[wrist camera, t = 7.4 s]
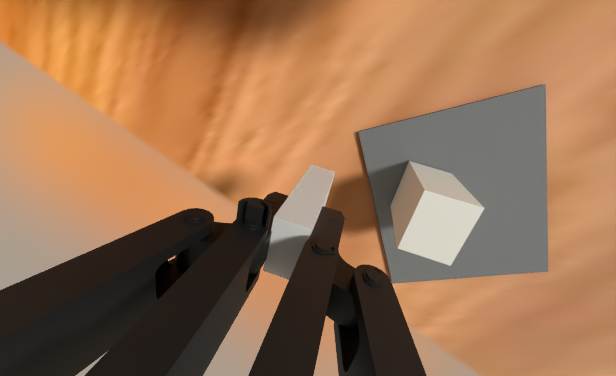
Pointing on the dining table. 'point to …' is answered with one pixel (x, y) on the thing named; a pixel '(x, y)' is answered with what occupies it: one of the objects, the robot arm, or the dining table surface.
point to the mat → (471, 182)
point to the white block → (432, 213)
